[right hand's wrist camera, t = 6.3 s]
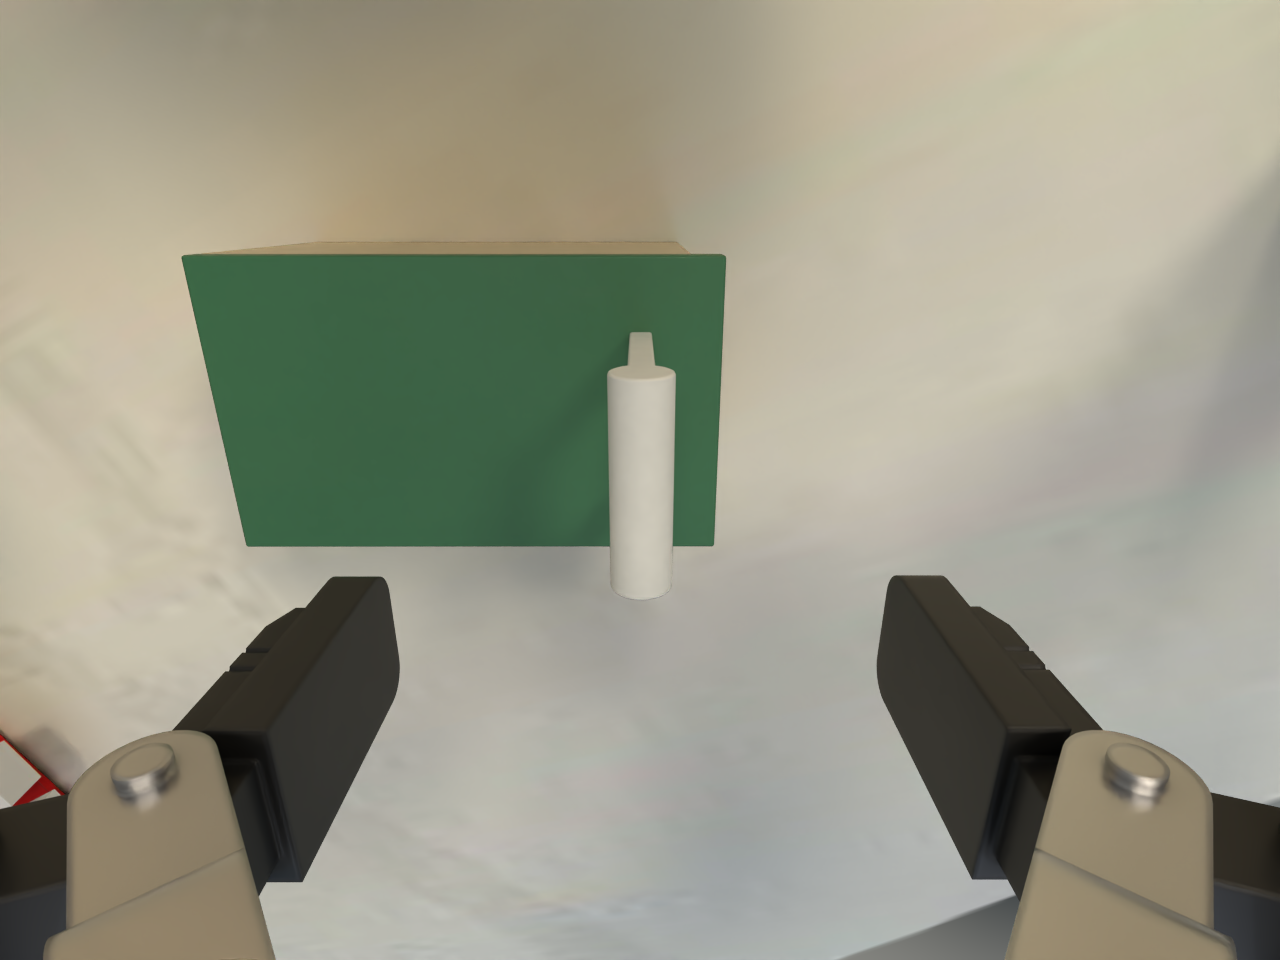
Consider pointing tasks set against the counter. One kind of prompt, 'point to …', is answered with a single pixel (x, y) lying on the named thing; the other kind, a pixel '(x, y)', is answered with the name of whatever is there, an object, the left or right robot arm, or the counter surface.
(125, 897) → the right robot arm
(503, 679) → the counter surface
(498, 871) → the counter surface
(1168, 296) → the counter surface
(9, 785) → the toy
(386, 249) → the chest
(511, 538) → the lid
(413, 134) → the counter surface
